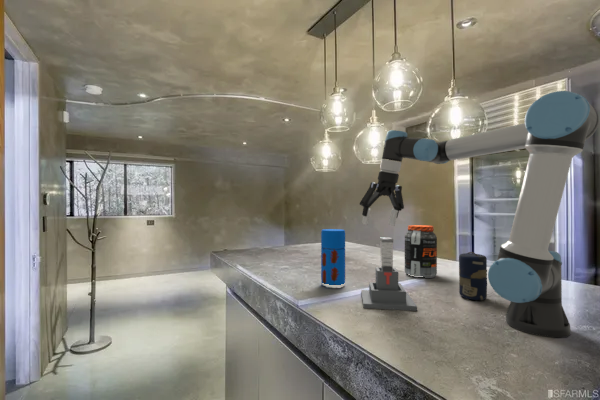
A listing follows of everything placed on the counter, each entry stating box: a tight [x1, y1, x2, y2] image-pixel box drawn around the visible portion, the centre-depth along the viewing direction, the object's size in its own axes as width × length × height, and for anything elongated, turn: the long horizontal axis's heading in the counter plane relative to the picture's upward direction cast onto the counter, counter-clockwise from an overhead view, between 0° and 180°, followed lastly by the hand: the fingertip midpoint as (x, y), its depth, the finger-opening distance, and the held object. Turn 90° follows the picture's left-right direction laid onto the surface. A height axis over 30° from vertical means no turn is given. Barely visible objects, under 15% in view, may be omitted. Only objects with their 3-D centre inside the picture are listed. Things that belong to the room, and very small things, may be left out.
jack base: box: [360, 266, 418, 312], centre depth 115 cm, size 18×18×13 cm
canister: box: [458, 251, 488, 301], centre depth 120 cm, size 10×10×18 cm
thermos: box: [320, 228, 346, 285], centre depth 138 cm, size 11×11×25 cm
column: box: [379, 236, 394, 271], centre depth 115 cm, size 6×4×22 cm
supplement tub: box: [404, 224, 438, 279], centre depth 159 cm, size 16×16×26 cm
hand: (378, 224), depth 121 cm, fingers open, 13 cm apart
